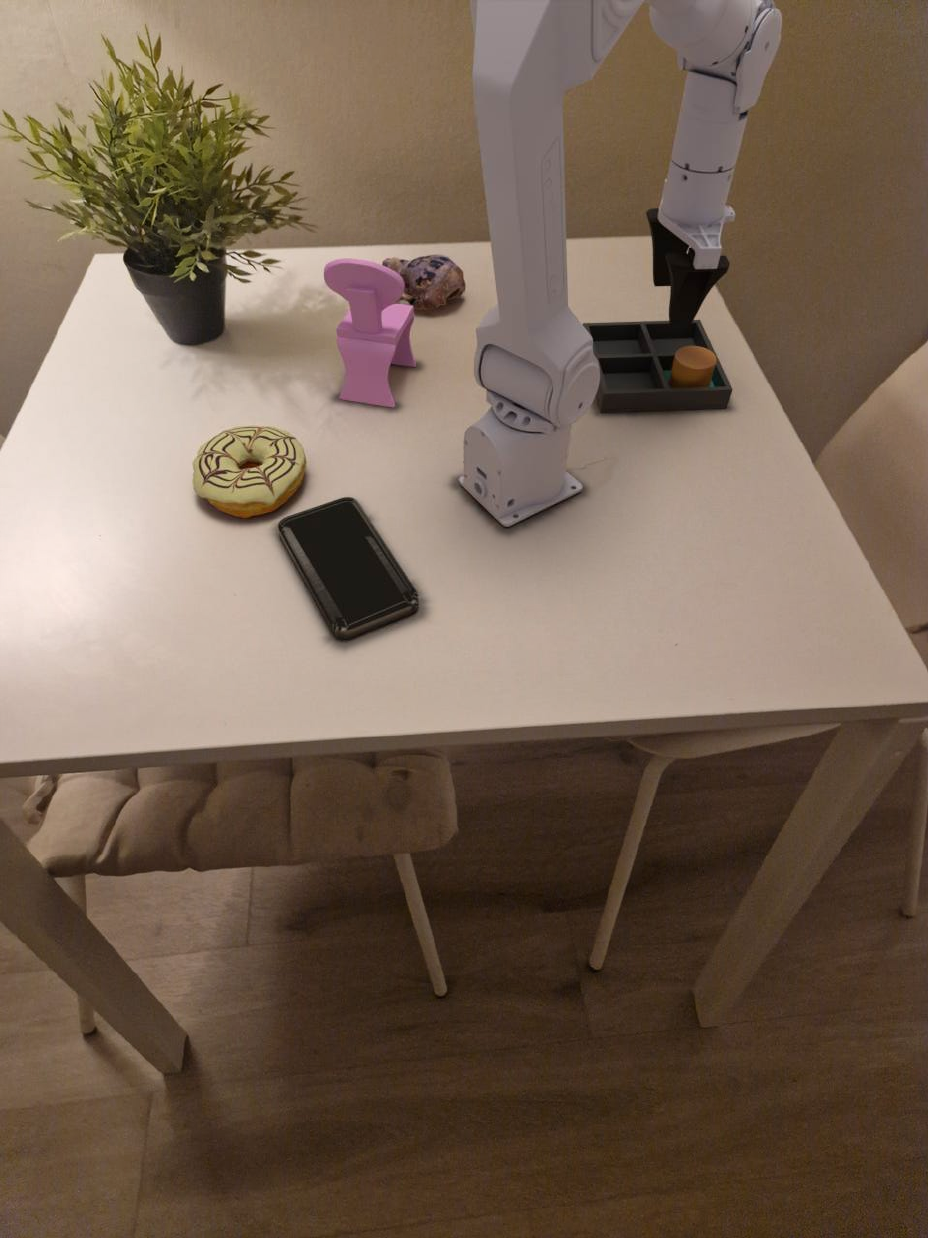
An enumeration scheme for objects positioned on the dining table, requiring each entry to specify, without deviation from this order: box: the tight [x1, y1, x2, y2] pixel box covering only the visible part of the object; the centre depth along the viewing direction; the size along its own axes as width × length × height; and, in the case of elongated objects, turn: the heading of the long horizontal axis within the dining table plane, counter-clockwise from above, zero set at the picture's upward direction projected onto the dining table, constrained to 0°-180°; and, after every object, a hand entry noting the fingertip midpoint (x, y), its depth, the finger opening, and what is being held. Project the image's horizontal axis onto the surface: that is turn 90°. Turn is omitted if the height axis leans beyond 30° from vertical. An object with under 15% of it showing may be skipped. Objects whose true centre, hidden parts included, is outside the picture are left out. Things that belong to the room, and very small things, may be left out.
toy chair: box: [323, 257, 417, 409], centre depth 83 cm, size 8×9×15 cm
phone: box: [277, 496, 420, 640], centre depth 70 cm, size 8×1×15 cm
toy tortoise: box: [381, 254, 467, 311], centre depth 98 cm, size 12×8×6 cm, turn 40°
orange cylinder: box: [669, 346, 717, 388], centre depth 86 cm, size 4×4×4 cm
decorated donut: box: [192, 425, 307, 519], centre depth 76 cm, size 10×11×4 cm
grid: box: [582, 319, 734, 414], centre depth 89 cm, size 14×14×2 cm
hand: (671, 303), depth 81 cm, fingers open, 7 cm apart
